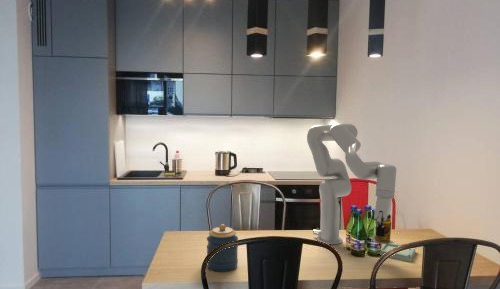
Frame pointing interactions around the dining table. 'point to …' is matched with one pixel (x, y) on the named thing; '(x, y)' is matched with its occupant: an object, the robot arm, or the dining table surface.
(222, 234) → the canister
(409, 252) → the socket plate
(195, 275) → the dining table surface
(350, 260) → the dining table surface
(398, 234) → the dining table surface
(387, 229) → the condiment
